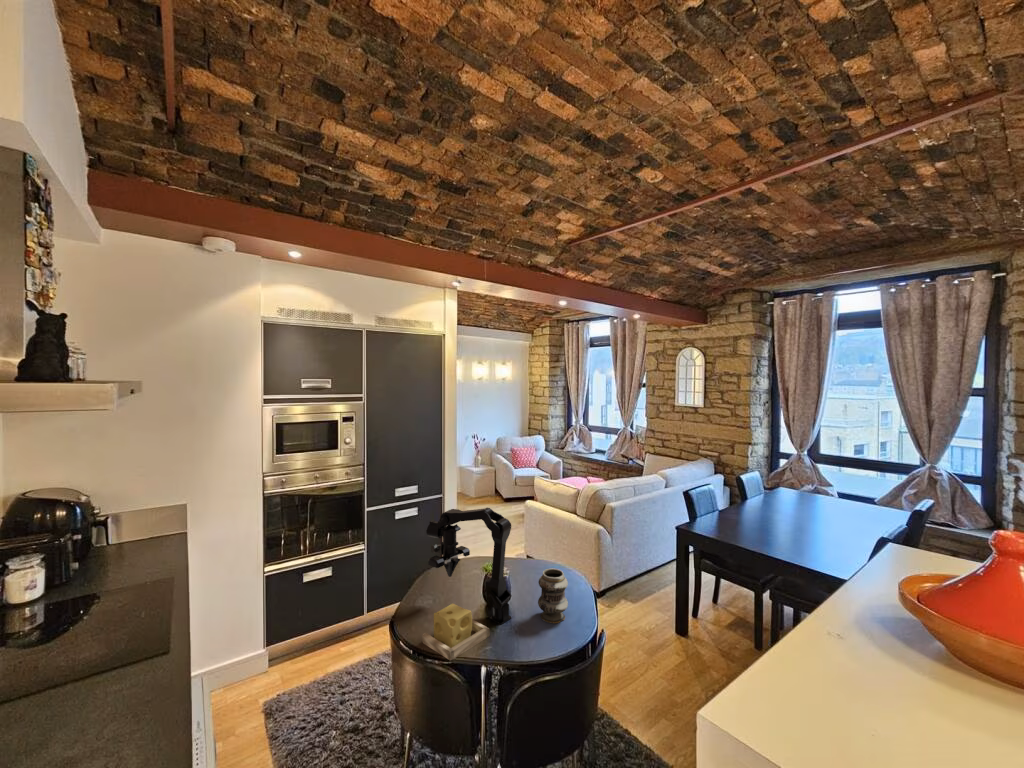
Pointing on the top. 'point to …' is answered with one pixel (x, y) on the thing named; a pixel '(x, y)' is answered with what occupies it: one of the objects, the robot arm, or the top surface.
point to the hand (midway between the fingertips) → (449, 576)
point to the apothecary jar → (553, 595)
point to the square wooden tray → (462, 646)
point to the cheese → (452, 625)
